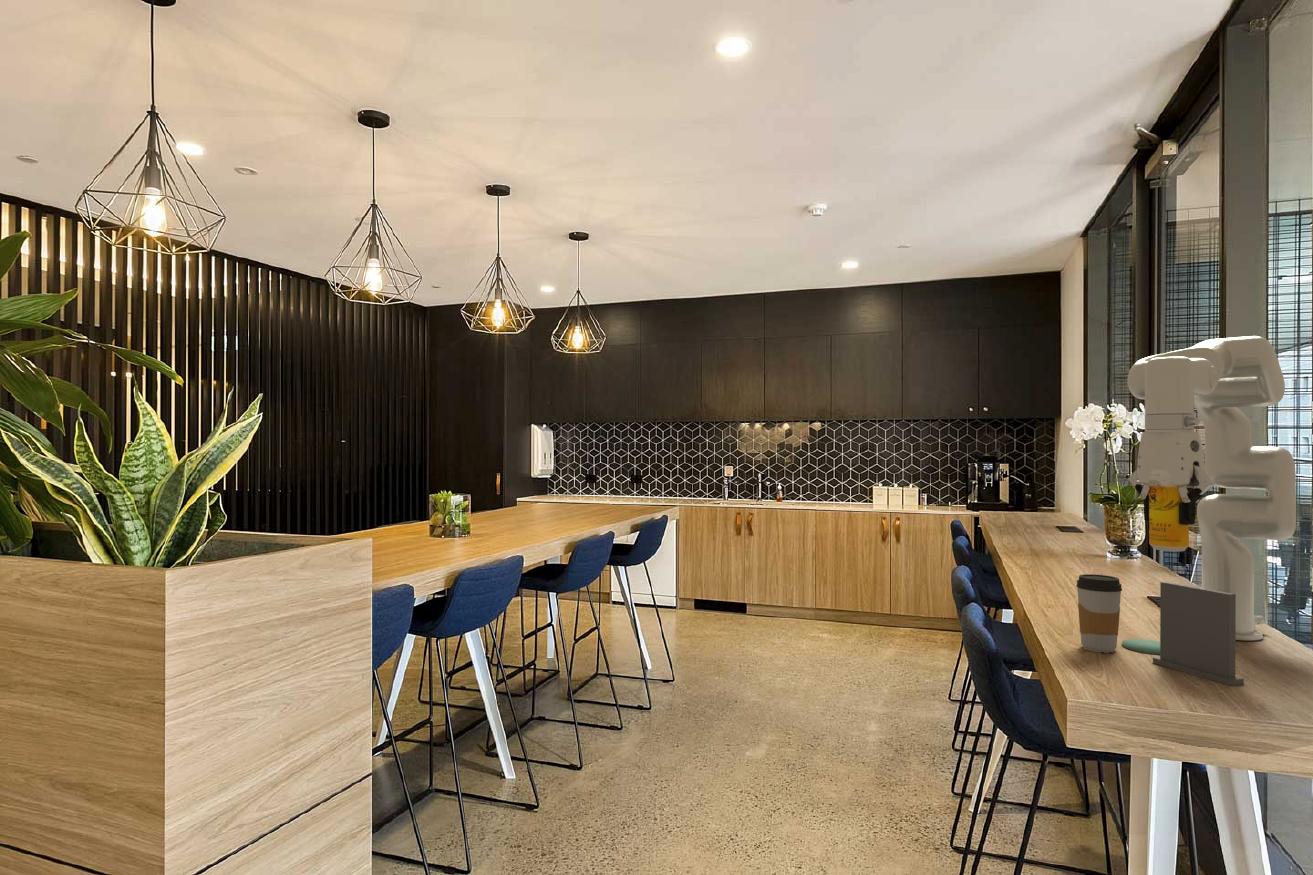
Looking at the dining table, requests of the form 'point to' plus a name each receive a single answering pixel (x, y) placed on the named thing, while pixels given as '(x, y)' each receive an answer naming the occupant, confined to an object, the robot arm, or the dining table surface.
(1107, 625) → the coffee cup
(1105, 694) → the dining table surface
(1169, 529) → the beer can
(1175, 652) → the screen
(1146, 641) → the coaster
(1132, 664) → the dining table surface
